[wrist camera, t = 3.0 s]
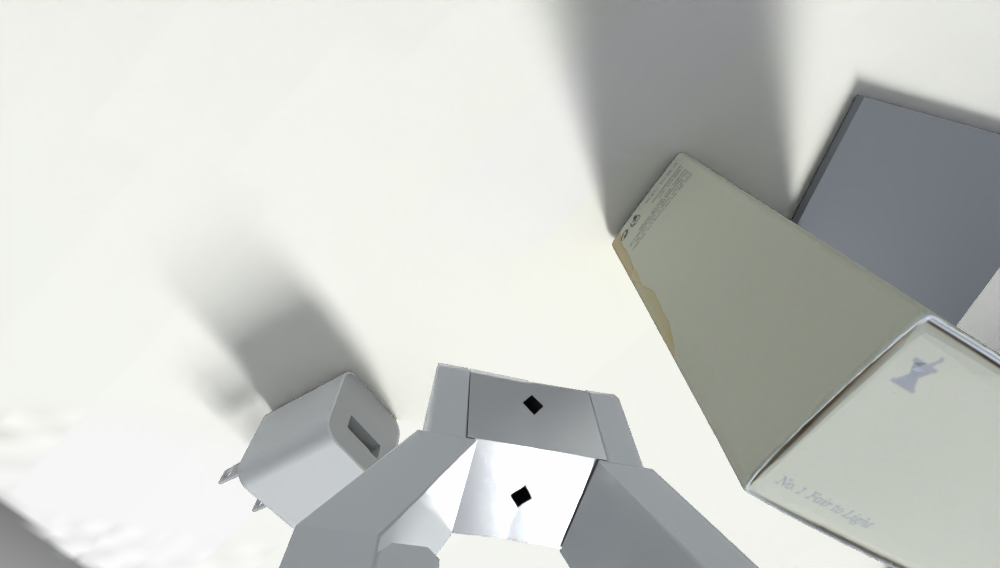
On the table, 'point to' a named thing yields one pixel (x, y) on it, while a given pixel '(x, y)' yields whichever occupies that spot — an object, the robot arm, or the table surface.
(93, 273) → the table surface
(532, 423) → the robot arm
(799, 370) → the skincare box
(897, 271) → the rubber mat
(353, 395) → the usb wall charger
